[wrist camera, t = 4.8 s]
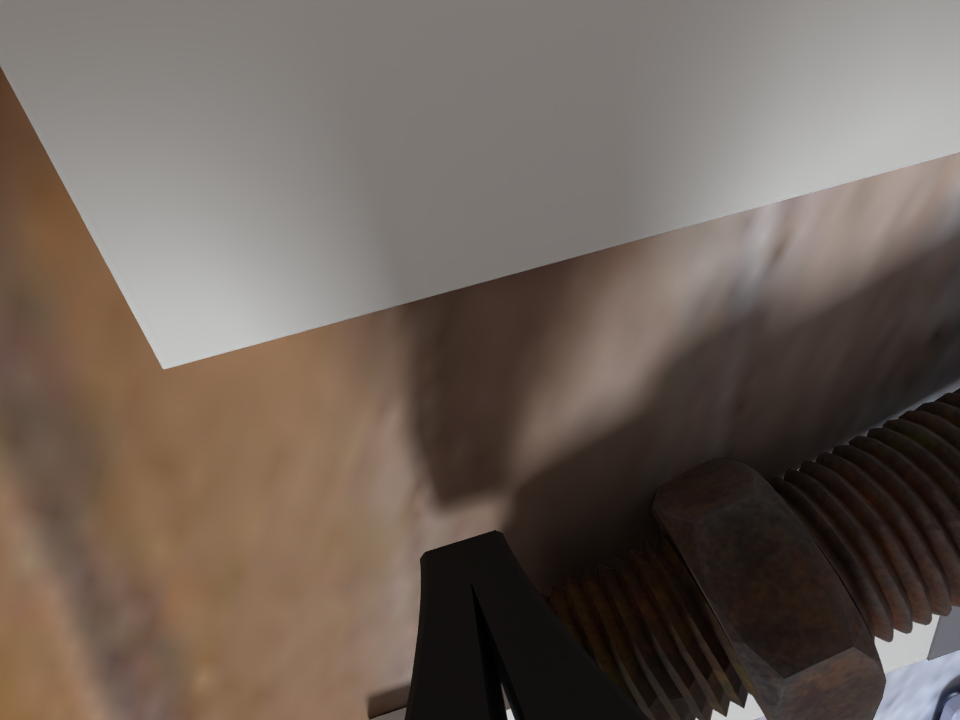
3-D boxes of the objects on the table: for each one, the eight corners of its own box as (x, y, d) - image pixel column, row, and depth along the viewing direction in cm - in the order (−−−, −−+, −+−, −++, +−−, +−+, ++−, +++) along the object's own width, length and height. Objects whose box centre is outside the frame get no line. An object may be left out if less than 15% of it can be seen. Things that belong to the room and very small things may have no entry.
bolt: (482, 526, 15) (1104, 210, 14) (583, 712, 15) (1204, 418, 14) (462, 663, 9) (1527, 141, 8) (625, 957, 10) (1684, 495, 8)
